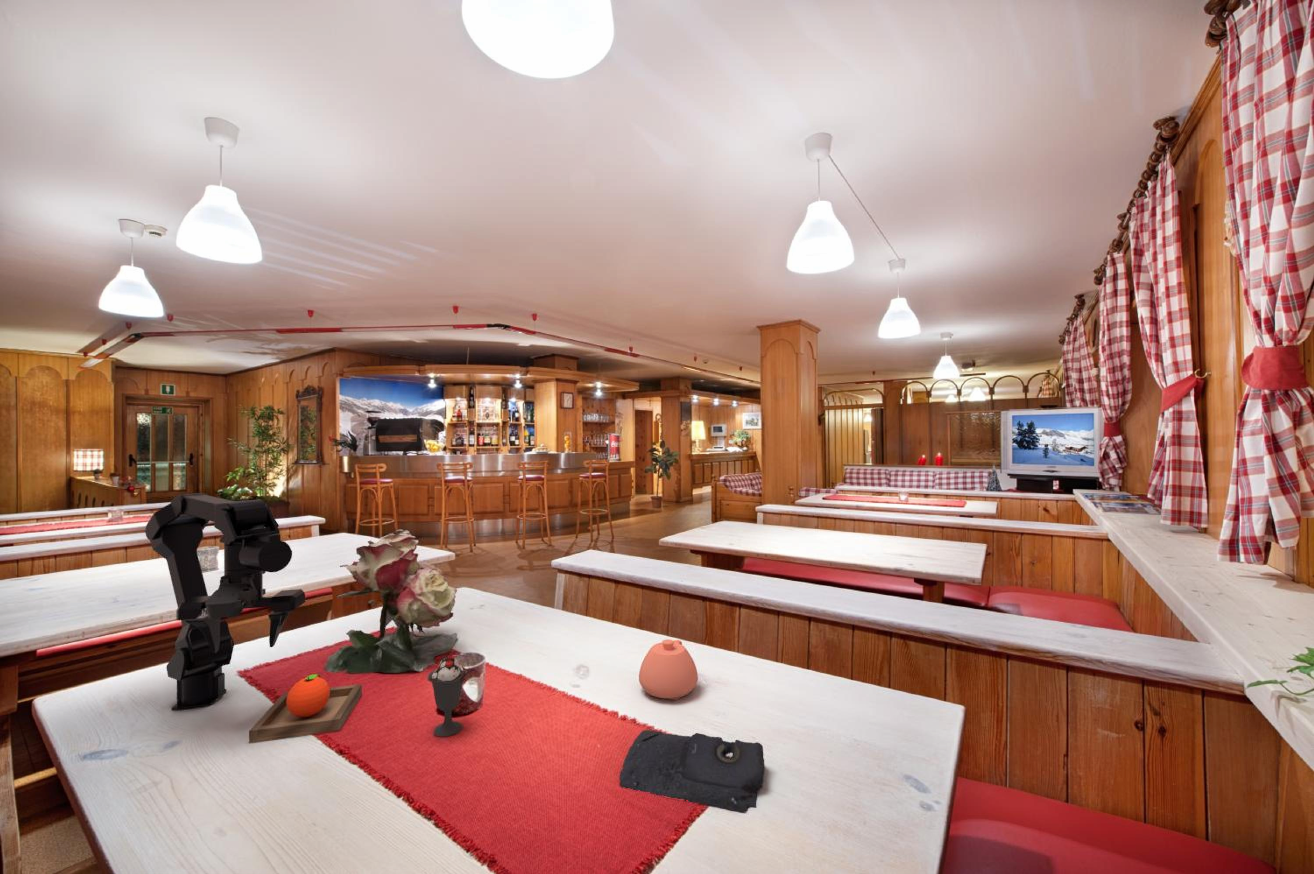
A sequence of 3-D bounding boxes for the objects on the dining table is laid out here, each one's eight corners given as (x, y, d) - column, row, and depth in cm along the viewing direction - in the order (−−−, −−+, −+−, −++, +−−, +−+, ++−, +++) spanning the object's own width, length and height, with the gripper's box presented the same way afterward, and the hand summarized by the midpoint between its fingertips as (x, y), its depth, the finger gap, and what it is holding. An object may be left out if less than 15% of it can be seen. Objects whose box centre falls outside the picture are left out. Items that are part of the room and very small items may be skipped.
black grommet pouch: (642, 735, 93) (642, 708, 93) (768, 755, 87) (768, 727, 87) (610, 791, 78) (610, 759, 78) (759, 820, 72) (759, 786, 72)
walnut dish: (249, 742, 91) (249, 730, 91) (283, 703, 104) (283, 693, 104) (339, 730, 94) (339, 718, 94) (361, 694, 108) (361, 684, 108)
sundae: (454, 741, 90) (454, 655, 91) (420, 737, 92) (419, 652, 92) (475, 721, 97) (474, 640, 97) (442, 717, 98) (442, 638, 98)
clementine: (302, 704, 103) (302, 667, 103) (339, 701, 104) (339, 665, 104) (277, 726, 95) (277, 686, 95) (318, 723, 96) (318, 684, 96)
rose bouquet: (441, 674, 117) (440, 540, 117) (311, 674, 117) (310, 541, 117) (480, 632, 142) (480, 522, 143) (374, 632, 143) (374, 523, 143)
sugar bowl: (629, 698, 105) (628, 647, 105) (655, 669, 118) (655, 624, 118) (686, 709, 101) (686, 656, 101) (707, 678, 114) (707, 631, 114)
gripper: (155, 581, 89) (156, 673, 89) (281, 573, 94) (282, 660, 94) (194, 566, 100) (195, 648, 100) (306, 559, 105) (306, 637, 104)
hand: (244, 649), depth 99 cm, fingers open, 9 cm apart
